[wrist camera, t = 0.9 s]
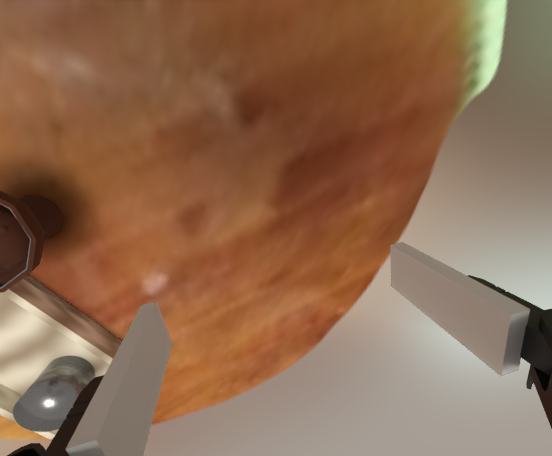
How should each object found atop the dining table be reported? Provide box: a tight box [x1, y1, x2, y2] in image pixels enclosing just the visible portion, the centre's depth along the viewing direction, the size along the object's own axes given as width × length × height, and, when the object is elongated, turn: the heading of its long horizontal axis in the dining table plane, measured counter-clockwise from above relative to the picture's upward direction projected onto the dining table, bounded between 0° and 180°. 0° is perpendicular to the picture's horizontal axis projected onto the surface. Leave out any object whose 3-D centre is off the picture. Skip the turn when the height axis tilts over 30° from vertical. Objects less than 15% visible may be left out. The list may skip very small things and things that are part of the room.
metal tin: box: [13, 356, 95, 432], centre depth 35 cm, size 6×6×6 cm
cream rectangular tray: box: [0, 275, 122, 440], centre depth 35 cm, size 24×16×4 cm, turn 39°
